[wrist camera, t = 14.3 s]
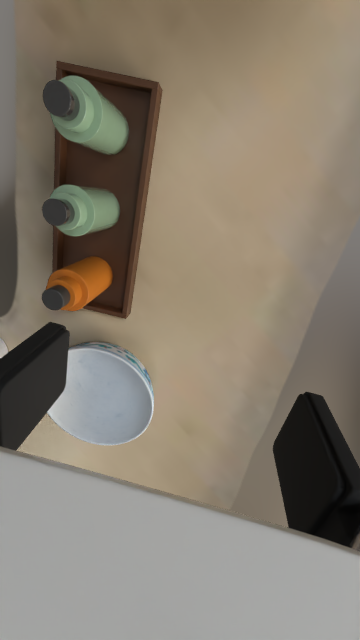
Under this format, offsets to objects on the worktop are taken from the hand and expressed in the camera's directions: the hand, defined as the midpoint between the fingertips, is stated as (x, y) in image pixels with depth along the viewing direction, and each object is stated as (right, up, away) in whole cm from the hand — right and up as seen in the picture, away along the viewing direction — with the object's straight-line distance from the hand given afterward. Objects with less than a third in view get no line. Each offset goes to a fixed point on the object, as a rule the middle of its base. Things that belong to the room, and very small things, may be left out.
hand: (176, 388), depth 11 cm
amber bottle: (-11, +9, +26) cm, 29 cm away
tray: (-9, +16, +23) cm, 29 cm away
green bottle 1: (-8, +23, +19) cm, 31 cm away
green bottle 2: (-9, +16, +22) cm, 29 cm away
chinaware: (-10, -4, +32) cm, 33 cm away
